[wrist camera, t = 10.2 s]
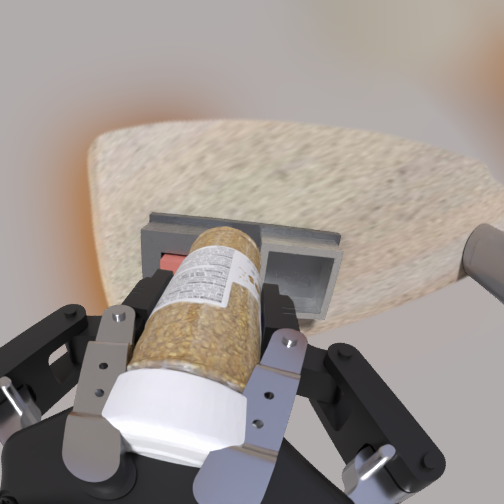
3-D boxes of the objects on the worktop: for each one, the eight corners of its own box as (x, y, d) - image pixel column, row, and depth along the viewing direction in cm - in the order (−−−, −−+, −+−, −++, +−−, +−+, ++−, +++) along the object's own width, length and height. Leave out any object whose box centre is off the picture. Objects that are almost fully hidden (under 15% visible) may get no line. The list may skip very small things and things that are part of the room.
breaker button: (207, 246, 30) (199, 265, 26) (205, 277, 32) (198, 300, 27) (173, 242, 30) (160, 260, 26) (172, 274, 32) (161, 295, 27)
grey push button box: (338, 232, 31) (354, 250, 26) (320, 304, 35) (330, 330, 30) (152, 212, 30) (134, 226, 25) (153, 287, 34) (139, 310, 29)
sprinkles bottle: (263, 289, 18) (269, 504, 5) (194, 291, 18) (126, 486, 5) (259, 221, 16) (267, 445, 4) (184, 225, 16) (48, 409, 4)
